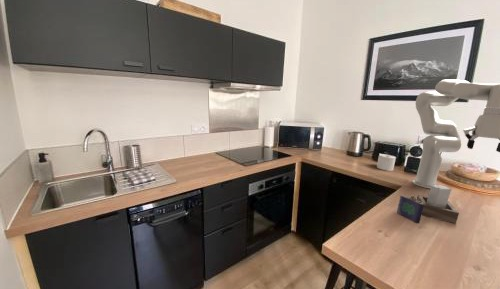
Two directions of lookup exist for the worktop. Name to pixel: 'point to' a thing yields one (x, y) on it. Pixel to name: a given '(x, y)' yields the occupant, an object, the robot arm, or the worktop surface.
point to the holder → (439, 211)
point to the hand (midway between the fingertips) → (484, 150)
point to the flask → (410, 208)
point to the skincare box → (438, 196)
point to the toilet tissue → (386, 162)
